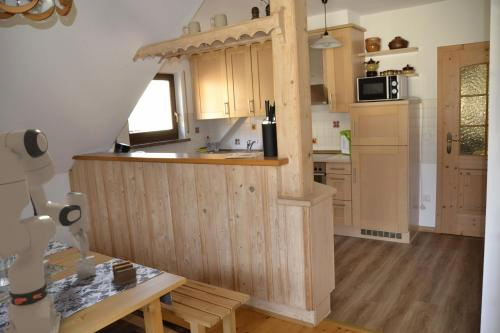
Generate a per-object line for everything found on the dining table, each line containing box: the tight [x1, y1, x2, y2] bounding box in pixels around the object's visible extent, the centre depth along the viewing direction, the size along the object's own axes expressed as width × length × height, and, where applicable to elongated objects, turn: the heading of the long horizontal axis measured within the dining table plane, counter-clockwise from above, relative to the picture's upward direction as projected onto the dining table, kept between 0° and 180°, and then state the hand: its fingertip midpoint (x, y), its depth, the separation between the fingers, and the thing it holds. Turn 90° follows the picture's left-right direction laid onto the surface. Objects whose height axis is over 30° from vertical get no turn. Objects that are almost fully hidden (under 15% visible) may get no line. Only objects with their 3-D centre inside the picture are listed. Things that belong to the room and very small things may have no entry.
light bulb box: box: [43, 259, 53, 286], centre depth 180 cm, size 11×7×11 cm, turn 168°
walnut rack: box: [111, 260, 138, 286], centre depth 184 cm, size 9×8×6 cm
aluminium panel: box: [74, 255, 97, 281], centre depth 189 cm, size 2×8×9 cm, turn 121°
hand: (81, 255), depth 189 cm, fingers open, 8 cm apart
